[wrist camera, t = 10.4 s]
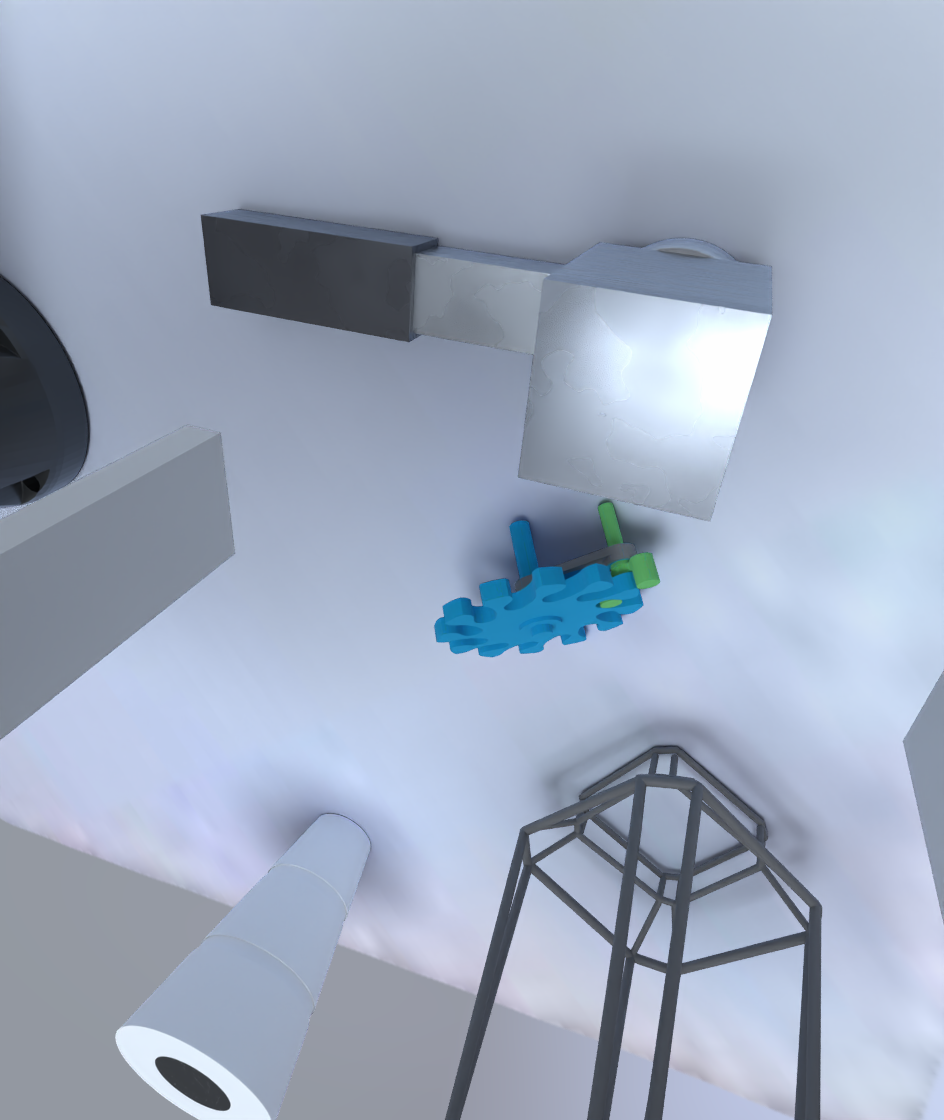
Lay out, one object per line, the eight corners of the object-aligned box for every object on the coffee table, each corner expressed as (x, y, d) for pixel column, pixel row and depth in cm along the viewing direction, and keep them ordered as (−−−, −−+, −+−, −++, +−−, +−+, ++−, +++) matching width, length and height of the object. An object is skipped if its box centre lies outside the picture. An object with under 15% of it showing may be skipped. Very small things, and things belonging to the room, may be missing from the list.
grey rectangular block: (574, 400, 29) (517, 477, 23) (600, 242, 26) (543, 279, 19) (724, 430, 28) (710, 521, 21) (771, 266, 24) (771, 314, 18)
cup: (368, 783, 51) (210, 1040, 37) (426, 885, 55) (303, 1155, 41) (261, 786, 56) (84, 1014, 42) (320, 880, 60) (177, 1118, 46)
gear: (497, 677, 40) (396, 646, 32) (479, 580, 42) (380, 528, 34) (691, 619, 36) (633, 565, 27) (659, 515, 38) (597, 436, 30)
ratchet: (249, 320, 36) (152, 356, 30) (236, 177, 32) (124, 187, 27) (731, 412, 30) (722, 477, 24) (779, 249, 27) (781, 281, 21)
